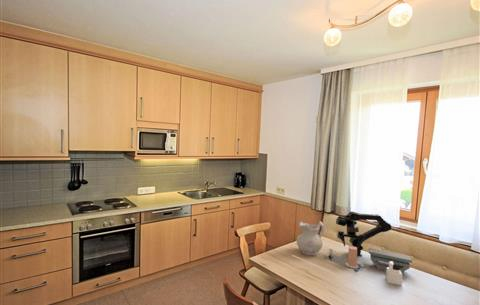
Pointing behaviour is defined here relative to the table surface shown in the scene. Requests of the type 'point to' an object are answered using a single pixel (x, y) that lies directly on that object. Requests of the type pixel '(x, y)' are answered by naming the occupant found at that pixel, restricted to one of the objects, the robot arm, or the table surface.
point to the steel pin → (330, 252)
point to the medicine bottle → (394, 273)
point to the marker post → (352, 256)
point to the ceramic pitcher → (310, 238)
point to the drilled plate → (344, 262)
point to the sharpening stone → (389, 259)
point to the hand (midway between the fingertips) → (351, 247)
